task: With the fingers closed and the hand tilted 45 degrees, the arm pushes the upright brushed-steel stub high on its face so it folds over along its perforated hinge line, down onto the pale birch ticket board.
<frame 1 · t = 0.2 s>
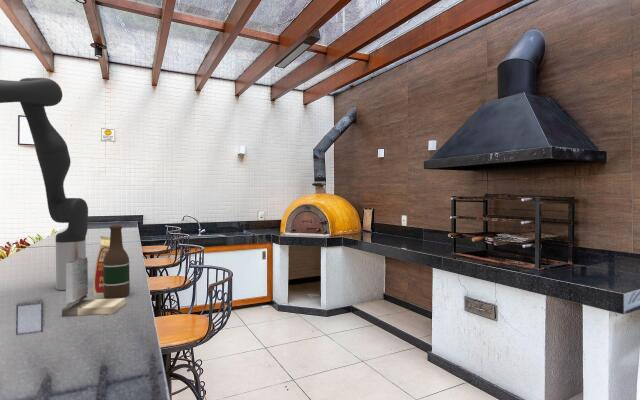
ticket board: (77, 311, 107), on the countertop
milk carton: (109, 291, 129), on the countertop
stub: (77, 281, 107), point 9 cm above the countertop, hinge at 0.0°
beer bottle: (116, 296, 123), on the countertop
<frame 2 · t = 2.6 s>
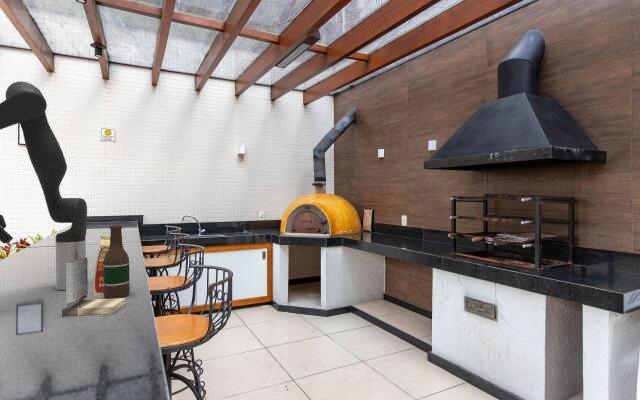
hand: (8, 241, 104), 21 cm above the countertop, tool tilted 45°, fingers closed
nothing on the countertop moved.
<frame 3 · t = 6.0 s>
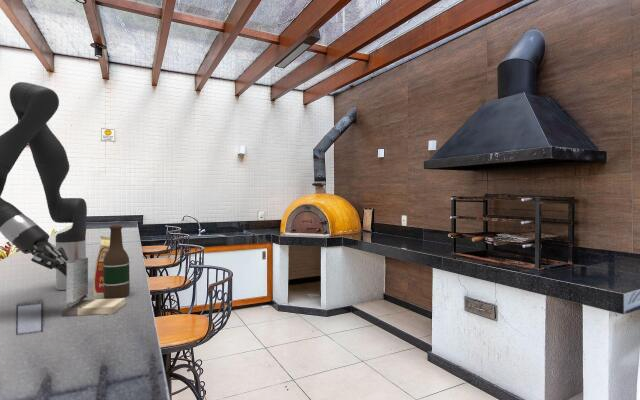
hand: (71, 274, 106), 11 cm above the countertop, tool tilted 45°, fingers closed
stub: (77, 281, 107), point 9 cm above the countertop, hinge at 0.9°, touching gripper
everything else where it was.
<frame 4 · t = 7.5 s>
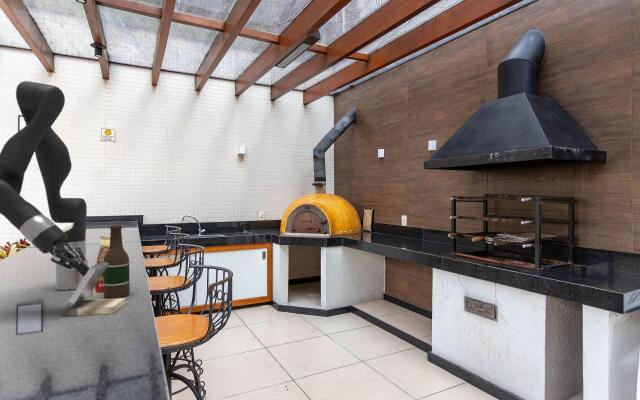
hand: (89, 274, 107), 11 cm above the countertop, tool tilted 45°, fingers closed
stub: (88, 283, 107), point 8 cm above the countertop, hinge at 31.2°, touching gripper
everything else where it was.
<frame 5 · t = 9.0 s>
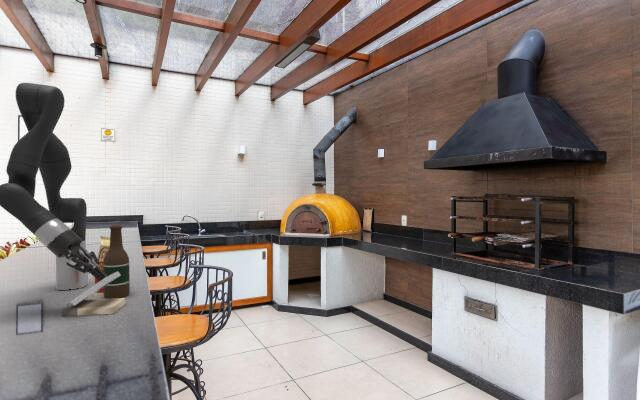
hand: (103, 278, 107), 9 cm above the countertop, tool tilted 45°, fingers closed
stub: (94, 289, 107), point 6 cm above the countertop, hinge at 55.4°, touching gripper
everything else where it was.
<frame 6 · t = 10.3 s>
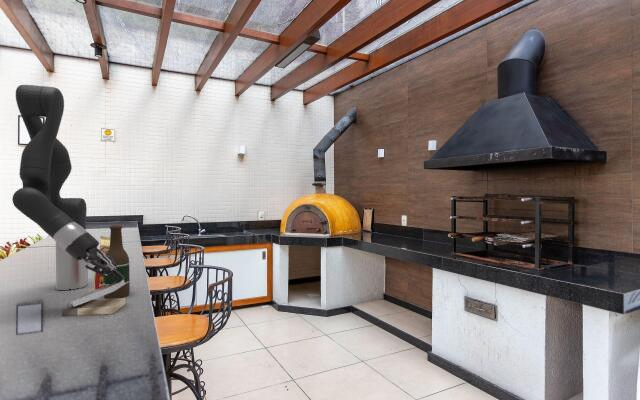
hand: (121, 280, 109), 8 cm above the countertop, tool tilted 45°, fingers closed
stub: (97, 293, 108), point 5 cm above the countertop, hinge at 70.0°
everything else where it was.
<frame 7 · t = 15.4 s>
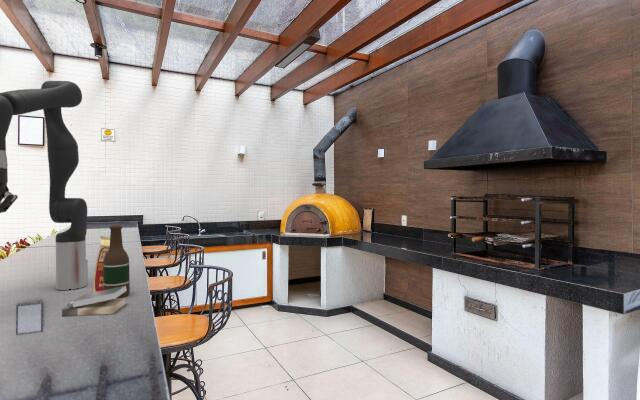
stub: (98, 296, 108), point 4 cm above the countertop, hinge at 80.1°
everything else where it was.
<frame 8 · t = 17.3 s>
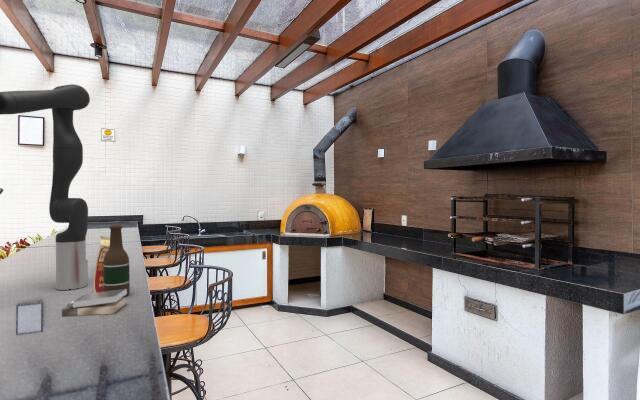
stub: (98, 298, 108), point 4 cm above the countertop, hinge at 84.7°
everything else where it was.
at the end: stub at +85° (first picture: +0°) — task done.
